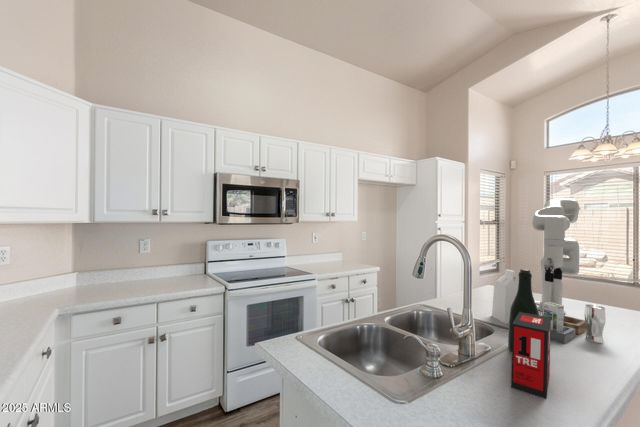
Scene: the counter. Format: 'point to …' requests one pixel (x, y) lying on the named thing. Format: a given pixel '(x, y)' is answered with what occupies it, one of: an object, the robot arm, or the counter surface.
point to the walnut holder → (575, 324)
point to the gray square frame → (563, 335)
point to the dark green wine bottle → (522, 301)
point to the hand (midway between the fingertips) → (553, 280)
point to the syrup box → (554, 315)
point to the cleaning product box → (531, 354)
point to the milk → (504, 295)
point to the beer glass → (595, 322)
